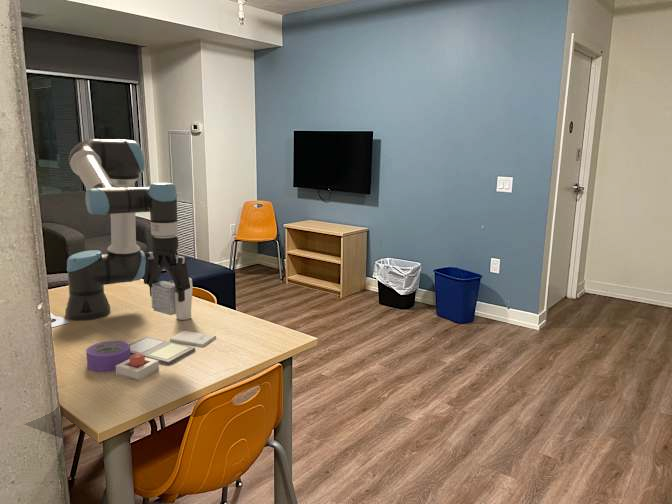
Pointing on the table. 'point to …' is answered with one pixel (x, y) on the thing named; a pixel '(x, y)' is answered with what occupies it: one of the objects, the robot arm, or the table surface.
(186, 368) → the table surface
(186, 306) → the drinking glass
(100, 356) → the tape roll
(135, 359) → the button
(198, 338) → the external hard drive
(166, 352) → the picture board
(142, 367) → the button housing
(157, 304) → the medicine box
